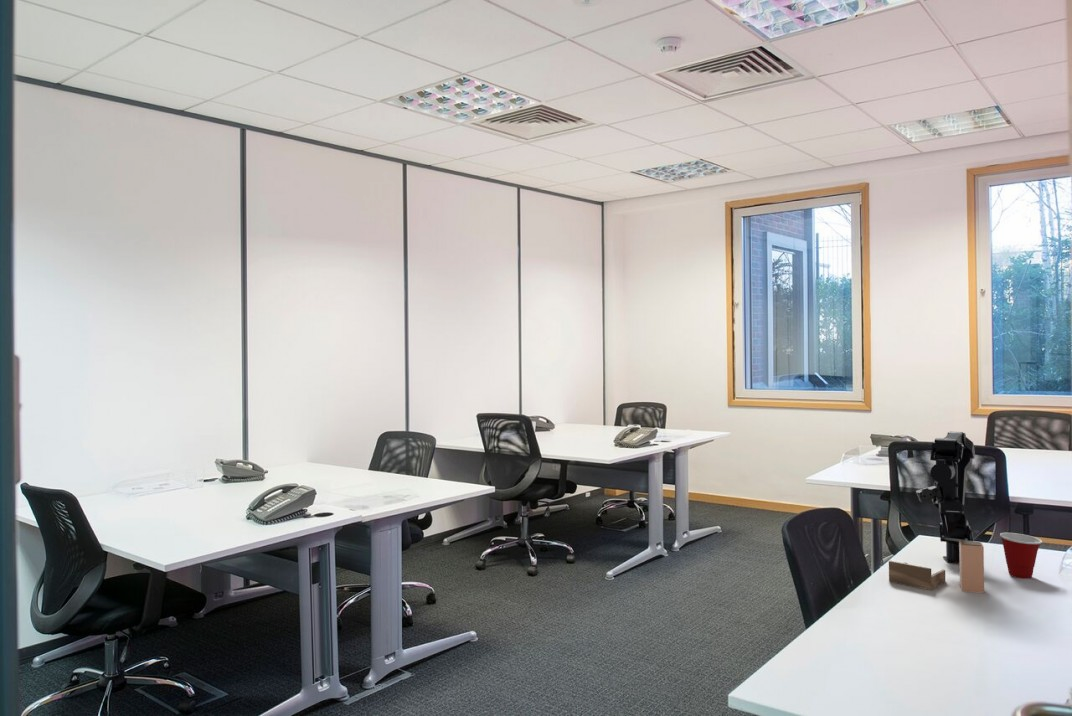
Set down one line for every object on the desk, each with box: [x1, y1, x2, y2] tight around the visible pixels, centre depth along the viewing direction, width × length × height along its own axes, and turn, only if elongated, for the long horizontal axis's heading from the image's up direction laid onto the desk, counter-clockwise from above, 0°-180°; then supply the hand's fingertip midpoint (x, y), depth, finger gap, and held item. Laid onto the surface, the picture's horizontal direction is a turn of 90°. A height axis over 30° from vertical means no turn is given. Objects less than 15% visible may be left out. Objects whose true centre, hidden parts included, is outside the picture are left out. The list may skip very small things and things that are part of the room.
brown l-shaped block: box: [888, 560, 946, 591], centre depth 221 cm, size 11×12×6 cm
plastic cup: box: [999, 532, 1043, 580], centre depth 225 cm, size 11×11×12 cm
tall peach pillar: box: [959, 540, 985, 594], centre depth 214 cm, size 6×6×13 cm
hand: (947, 529), depth 230 cm, fingers open, 9 cm apart
